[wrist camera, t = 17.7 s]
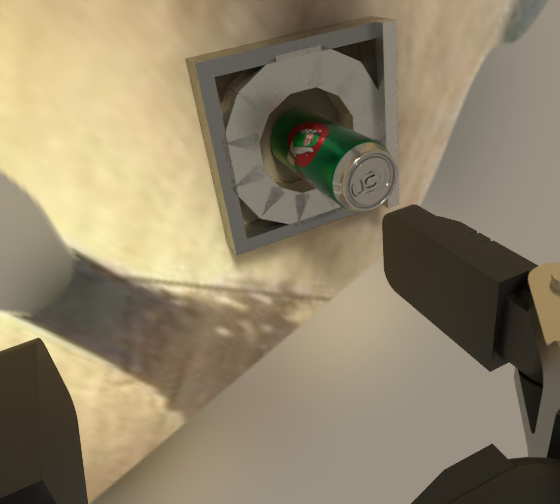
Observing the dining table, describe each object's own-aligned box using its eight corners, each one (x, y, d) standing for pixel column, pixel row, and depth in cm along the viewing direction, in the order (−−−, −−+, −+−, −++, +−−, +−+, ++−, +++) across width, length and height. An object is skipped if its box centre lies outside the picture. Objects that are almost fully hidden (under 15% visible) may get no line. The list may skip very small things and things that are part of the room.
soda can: (326, 150, 46) (407, 197, 36) (277, 174, 45) (347, 228, 35) (312, 97, 43) (396, 132, 34) (260, 121, 42) (331, 165, 33)
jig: (185, 58, 38) (198, 65, 35) (371, 16, 42) (396, 19, 39) (227, 243, 46) (240, 260, 43) (378, 191, 51) (399, 204, 48)
